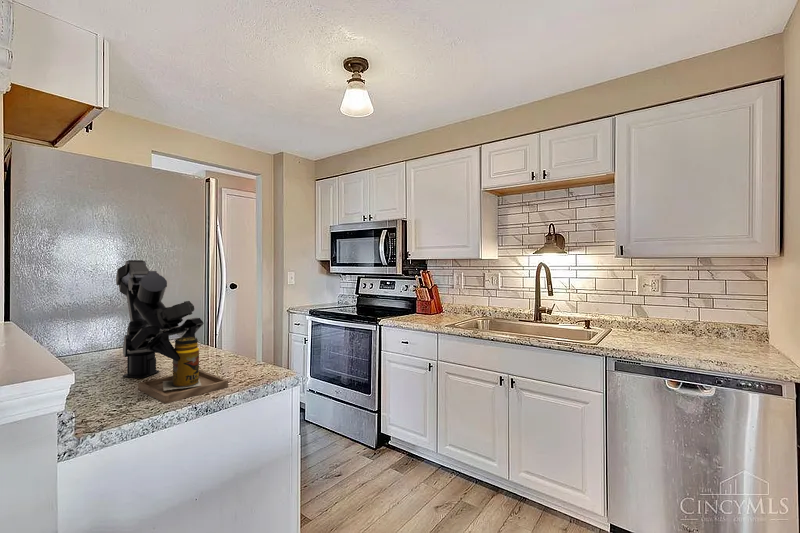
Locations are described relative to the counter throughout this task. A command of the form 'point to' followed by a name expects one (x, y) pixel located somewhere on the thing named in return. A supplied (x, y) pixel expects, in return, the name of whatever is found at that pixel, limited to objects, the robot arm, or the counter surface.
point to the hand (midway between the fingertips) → (188, 356)
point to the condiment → (185, 365)
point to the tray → (207, 385)
